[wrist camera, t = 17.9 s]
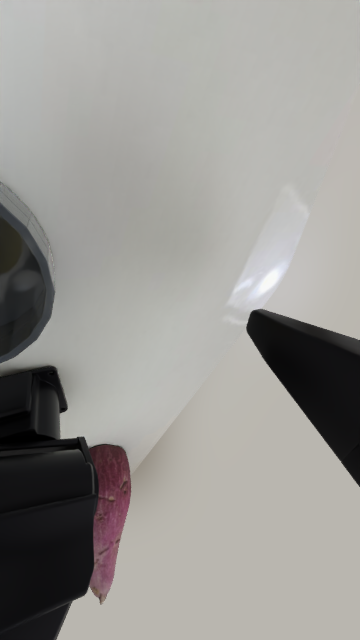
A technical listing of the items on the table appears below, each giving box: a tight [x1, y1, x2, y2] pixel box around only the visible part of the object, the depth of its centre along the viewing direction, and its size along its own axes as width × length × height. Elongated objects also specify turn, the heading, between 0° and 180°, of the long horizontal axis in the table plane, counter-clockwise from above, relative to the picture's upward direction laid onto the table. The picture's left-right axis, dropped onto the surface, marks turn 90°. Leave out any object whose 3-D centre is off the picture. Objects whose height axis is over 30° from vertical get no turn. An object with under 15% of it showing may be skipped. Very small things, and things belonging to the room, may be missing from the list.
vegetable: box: [89, 445, 131, 604], centre depth 31 cm, size 10×10×15 cm
